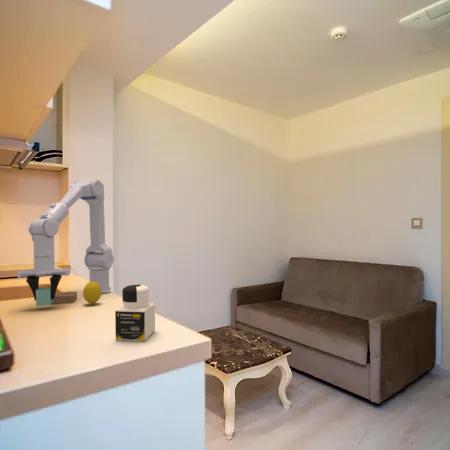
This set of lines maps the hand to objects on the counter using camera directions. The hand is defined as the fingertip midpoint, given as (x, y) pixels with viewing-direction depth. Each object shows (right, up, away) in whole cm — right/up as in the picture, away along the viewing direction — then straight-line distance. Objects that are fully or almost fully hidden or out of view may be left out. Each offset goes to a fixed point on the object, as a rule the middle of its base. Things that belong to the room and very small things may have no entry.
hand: (44, 299), depth 105 cm
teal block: (0, -2, 0) cm, 2 cm away
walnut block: (+1, -3, +10) cm, 10 cm away
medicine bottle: (+36, -3, -26) cm, 44 cm away
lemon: (+13, -3, +5) cm, 14 cm away
